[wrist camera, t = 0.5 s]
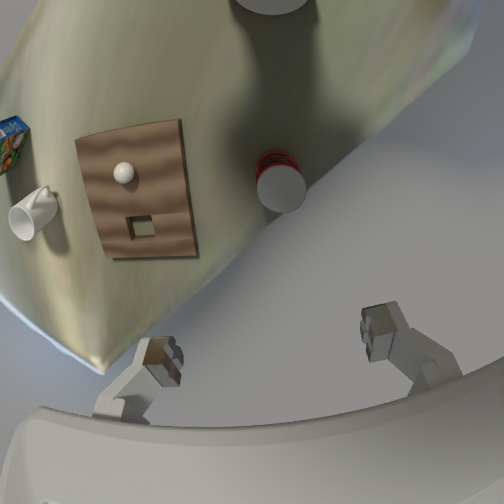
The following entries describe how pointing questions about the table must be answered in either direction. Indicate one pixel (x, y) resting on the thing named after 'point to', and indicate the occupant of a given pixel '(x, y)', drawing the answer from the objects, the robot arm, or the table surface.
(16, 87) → the table surface
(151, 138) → the board
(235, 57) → the table surface
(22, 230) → the mug
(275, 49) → the table surface
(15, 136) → the blue food package
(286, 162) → the canned food
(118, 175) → the ball
